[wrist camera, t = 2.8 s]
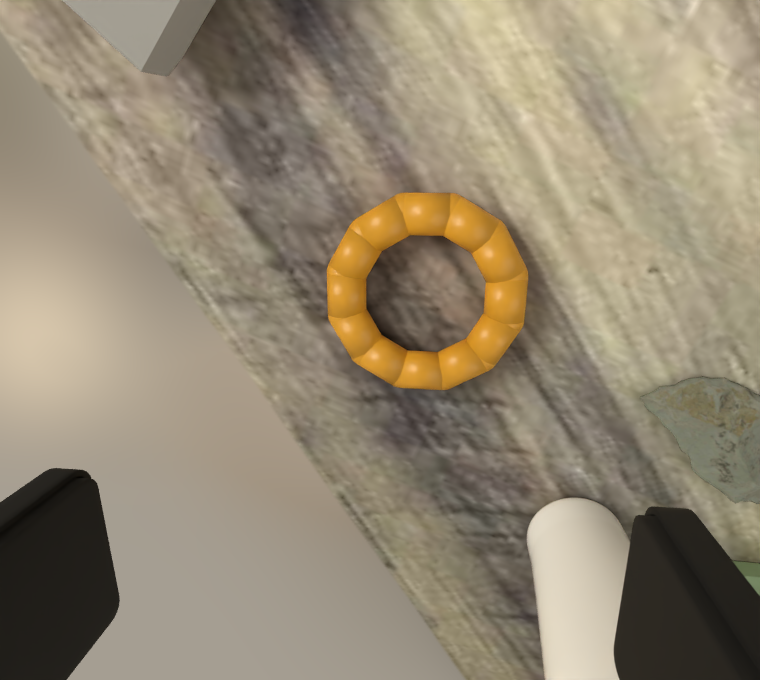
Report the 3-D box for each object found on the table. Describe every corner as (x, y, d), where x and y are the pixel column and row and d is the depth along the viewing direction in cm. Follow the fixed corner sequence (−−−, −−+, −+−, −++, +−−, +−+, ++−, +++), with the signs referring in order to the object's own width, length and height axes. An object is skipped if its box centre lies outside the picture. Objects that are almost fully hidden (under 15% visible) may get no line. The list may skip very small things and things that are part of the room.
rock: (731, 516, 27) (818, 464, 26) (753, 539, 25) (848, 485, 24) (628, 396, 27) (712, 337, 25) (642, 410, 25) (734, 347, 23)
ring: (329, 192, 25) (320, 192, 23) (532, 193, 24) (539, 193, 22) (334, 376, 28) (326, 389, 26) (514, 385, 27) (520, 400, 25)
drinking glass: (615, 589, 30) (772, 958, 15) (501, 567, 30) (553, 903, 16) (647, 493, 28) (864, 816, 13) (526, 471, 28) (609, 759, 14)
